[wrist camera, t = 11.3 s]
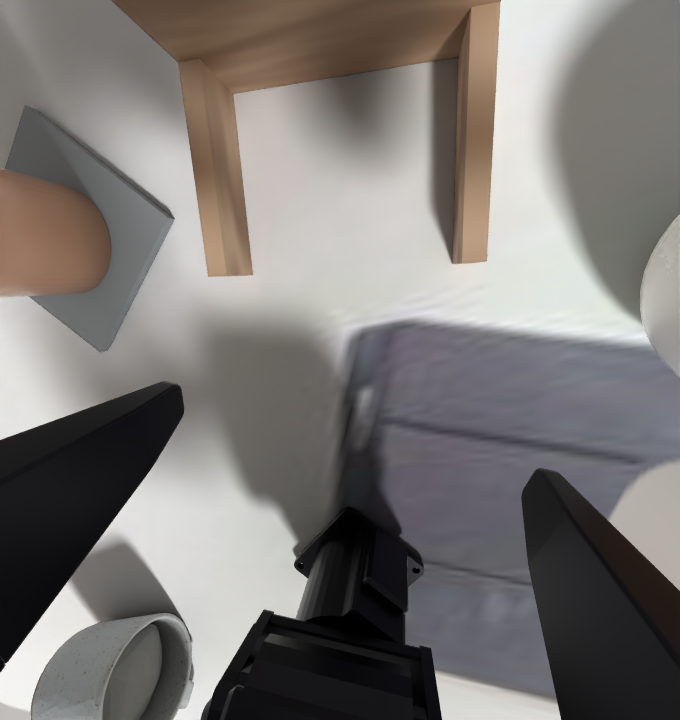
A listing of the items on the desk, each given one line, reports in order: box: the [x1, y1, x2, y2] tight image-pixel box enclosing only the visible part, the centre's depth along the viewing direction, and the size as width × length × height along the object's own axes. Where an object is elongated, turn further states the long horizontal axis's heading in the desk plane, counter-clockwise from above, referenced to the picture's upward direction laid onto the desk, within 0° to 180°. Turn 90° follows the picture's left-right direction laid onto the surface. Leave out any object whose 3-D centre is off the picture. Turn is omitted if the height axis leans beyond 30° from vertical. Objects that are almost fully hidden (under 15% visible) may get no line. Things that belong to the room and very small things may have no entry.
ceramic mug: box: [31, 613, 194, 720], centre depth 26 cm, size 11×8×8 cm
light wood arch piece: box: [111, 0, 501, 277], centre depth 13 cm, size 10×13×8 cm
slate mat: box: [5, 105, 174, 352], centre depth 21 cm, size 10×10×1 cm
